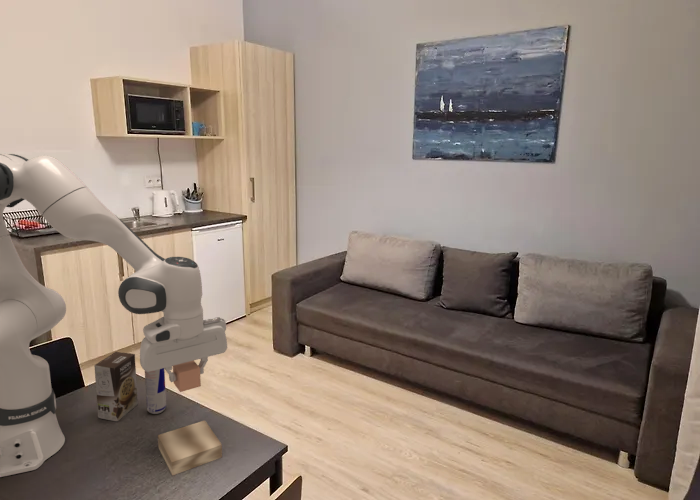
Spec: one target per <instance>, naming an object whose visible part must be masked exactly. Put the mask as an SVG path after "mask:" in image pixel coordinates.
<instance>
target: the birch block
mask: <svg viewBox="0 0 700 500" xmlns="http://www.w3.org/2000/svg"><path fill="white" fill-rule="evenodd" d="M157 445H158V449H159V451H160V454H161V456H162V458H163V459H164V461H165V464H166V466H167V468H168V469H169V472H170V474H171V476H175V475H179V474H181V473H183V472H186V471H189V470H191V469H194V468H197V467H200V466H202V465H205V464H208V463H210V462H213V461H216V460H219V459H221V458H223V445H222V442H221V441H220V440H219V438H218V437H217V435H216V434H215V433H214V431H213V430H212V429H211V427H210V425H209V424H208V422H207V421H206V420H205V419H204V420H201V421H199V422H195V423H191V424H189V425H186V426H183V427H179V428H176V429H173V430H169V431H167V432H162V433H161V434H157Z"/></svg>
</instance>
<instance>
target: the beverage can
mask: <svg viewBox="0 0 700 500" xmlns="http://www.w3.org/2000/svg"><path fill="white" fill-rule="evenodd" d="M165 372H166V370H165V369H164V368H162V369H158V370H154V371H150V372H146V371H145V370H144V379H145V381H144V382H145V384H144V385H145V396H146V399H145V400H146V409H147V412H148V413H150V414H152V415H157V414H160V413H162V412H164V411H165V410H166V408H167V395H166V394H167V393H166V376H165V375H166V374H165Z"/></svg>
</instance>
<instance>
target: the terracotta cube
mask: <svg viewBox="0 0 700 500" xmlns="http://www.w3.org/2000/svg"><path fill="white" fill-rule="evenodd" d="M198 365H199V364H197V362H196V360H194V361H190V362H186V363H182V364H178V365H174V366H172V372H176V374H177V379H178V380H177V381H174V382H173V384H174V386H175V387H176V389H177V390H178V391H179V392H180V393H182V392H186V391H189V390H192V389H197V388H199V387H201V386H202V383H201V380H202V379H201V374H200V367H199V366H198Z"/></svg>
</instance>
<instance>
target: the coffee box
mask: <svg viewBox="0 0 700 500" xmlns="http://www.w3.org/2000/svg"><path fill="white" fill-rule="evenodd" d="M136 367H137V366H136V354H135V353H129V352H121V351H115V352H113V353H111V354H110V355H108V356H107V357H105V358H104V359H102V360H101V361H99V362H98V363H96V364H94V377H95V378H94V379H95V391H96V404H97V406H96V407H97V418H98V419H103V420H108V421H113V422H119V421H121V419H122V418H124V417H125V416H126V415H127V414H128V413H129V412H131V411H132V410H133V409H134V408H135V407H136V406H138V404H139V401H138V400H139V399H138V386H137V385H138V384H137V368H136Z"/></svg>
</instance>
